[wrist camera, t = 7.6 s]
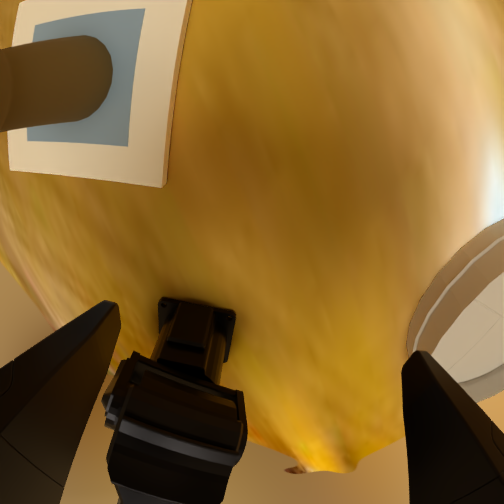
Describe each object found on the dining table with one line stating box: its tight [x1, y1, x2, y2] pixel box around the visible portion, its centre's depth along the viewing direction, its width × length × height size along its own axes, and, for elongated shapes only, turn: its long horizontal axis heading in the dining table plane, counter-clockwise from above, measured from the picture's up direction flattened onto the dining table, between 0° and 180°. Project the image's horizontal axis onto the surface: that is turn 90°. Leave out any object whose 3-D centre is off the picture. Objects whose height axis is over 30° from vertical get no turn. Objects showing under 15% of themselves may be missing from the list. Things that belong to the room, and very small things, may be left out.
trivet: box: [8, 0, 192, 188], centre depth 15 cm, size 14×14×1 cm
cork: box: [0, 35, 113, 132], centre depth 10 cm, size 6×6×11 cm
